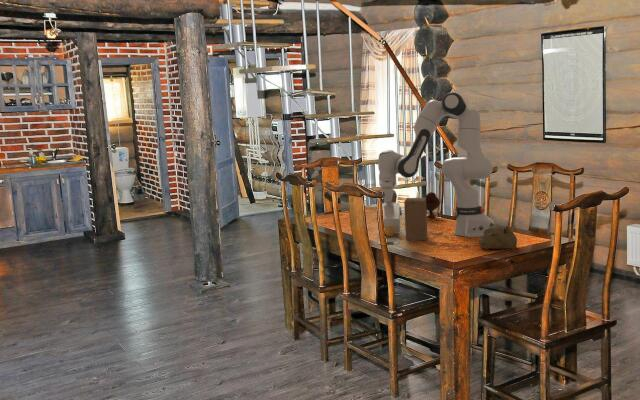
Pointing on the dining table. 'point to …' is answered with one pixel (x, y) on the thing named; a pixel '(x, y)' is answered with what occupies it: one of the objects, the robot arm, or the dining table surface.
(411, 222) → the wooden block
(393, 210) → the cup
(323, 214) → the dining table surface
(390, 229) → the ball
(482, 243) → the bear head
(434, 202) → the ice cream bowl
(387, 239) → the mark
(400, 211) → the stone cup
